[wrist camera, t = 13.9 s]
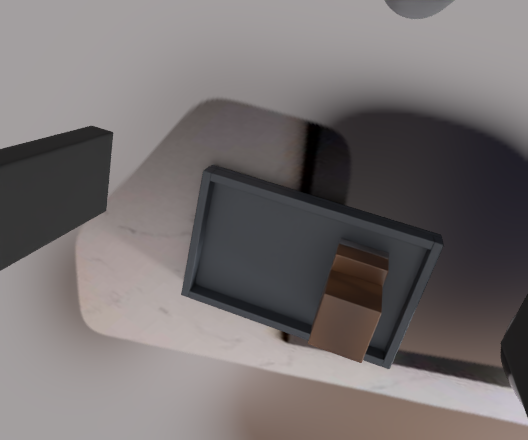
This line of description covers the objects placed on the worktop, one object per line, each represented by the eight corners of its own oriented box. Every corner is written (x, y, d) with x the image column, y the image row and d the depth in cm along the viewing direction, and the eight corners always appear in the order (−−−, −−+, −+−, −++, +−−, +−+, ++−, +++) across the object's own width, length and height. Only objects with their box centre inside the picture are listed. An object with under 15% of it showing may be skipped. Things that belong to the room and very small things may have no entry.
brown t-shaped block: (316, 309, 44) (302, 358, 37) (340, 237, 41) (329, 276, 34) (361, 324, 44) (355, 377, 36) (389, 253, 40) (388, 296, 33)
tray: (190, 284, 48) (181, 295, 46) (212, 164, 43) (203, 170, 41) (389, 354, 45) (389, 369, 43) (441, 234, 39) (444, 244, 37)
